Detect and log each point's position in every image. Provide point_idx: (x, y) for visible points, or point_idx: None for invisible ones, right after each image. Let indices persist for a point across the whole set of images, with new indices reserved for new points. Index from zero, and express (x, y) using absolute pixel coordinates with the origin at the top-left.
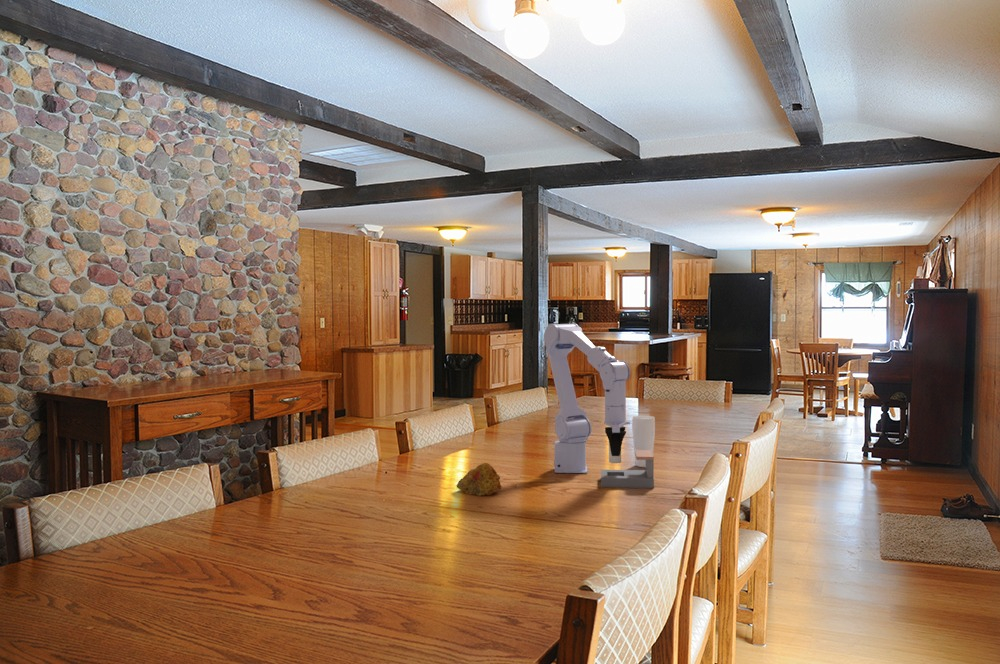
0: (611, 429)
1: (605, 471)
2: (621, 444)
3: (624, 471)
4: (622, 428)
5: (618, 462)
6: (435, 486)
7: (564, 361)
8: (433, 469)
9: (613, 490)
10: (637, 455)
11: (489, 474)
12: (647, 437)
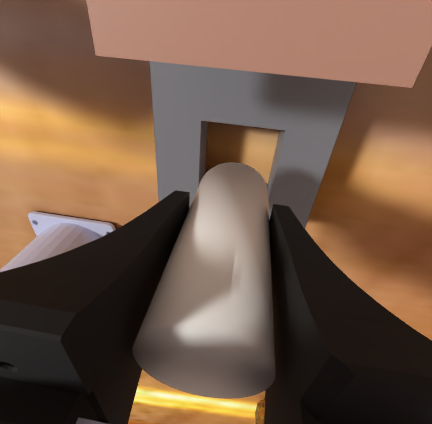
0: (117, 400)
1: (192, 197)
2: (328, 259)
3: (187, 114)
4: (80, 350)
5: (266, 185)
6: (250, 421)
7: None
8: (141, 409)
9: (362, 175)
10: (357, 68)
11: None
12: None
